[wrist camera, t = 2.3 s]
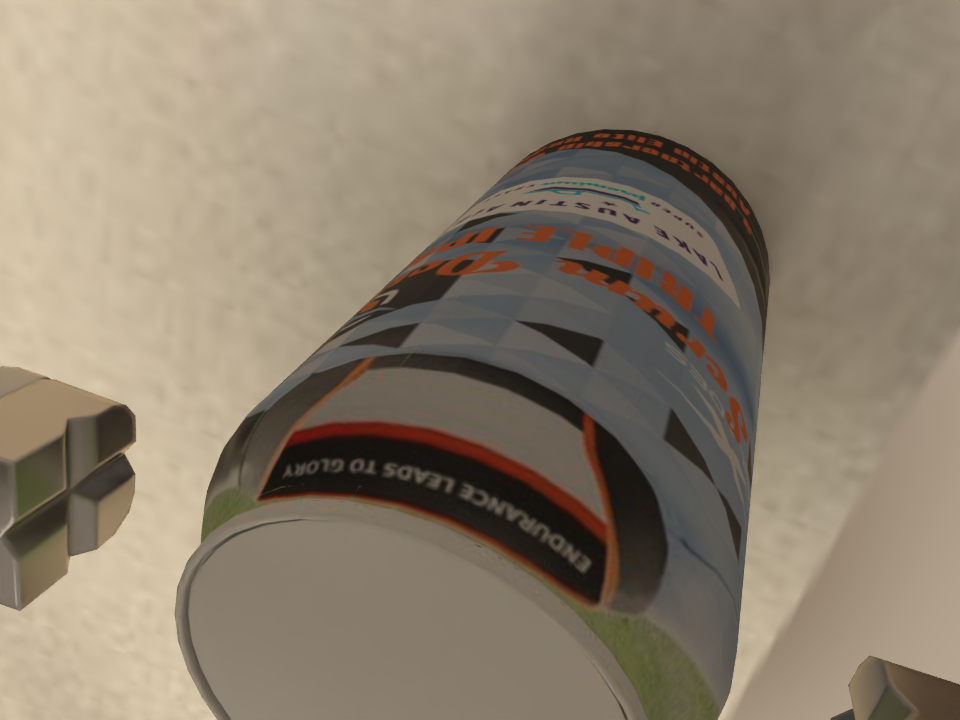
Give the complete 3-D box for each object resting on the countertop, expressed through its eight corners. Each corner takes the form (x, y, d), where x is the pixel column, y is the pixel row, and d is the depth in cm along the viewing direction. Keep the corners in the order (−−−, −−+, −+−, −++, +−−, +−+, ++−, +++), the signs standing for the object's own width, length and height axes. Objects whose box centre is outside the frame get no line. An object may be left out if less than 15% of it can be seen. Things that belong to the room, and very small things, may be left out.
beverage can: (816, 174, 15) (1030, 471, 5) (680, 477, 19) (624, 1069, 8) (515, 81, 16) (127, 151, 6) (434, 385, 20) (84, 802, 9)
